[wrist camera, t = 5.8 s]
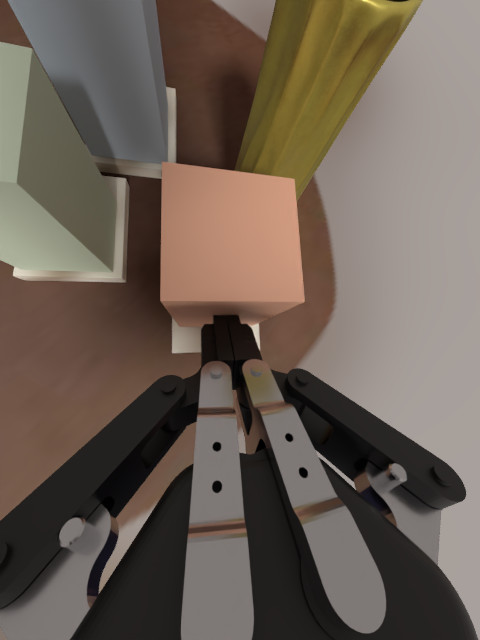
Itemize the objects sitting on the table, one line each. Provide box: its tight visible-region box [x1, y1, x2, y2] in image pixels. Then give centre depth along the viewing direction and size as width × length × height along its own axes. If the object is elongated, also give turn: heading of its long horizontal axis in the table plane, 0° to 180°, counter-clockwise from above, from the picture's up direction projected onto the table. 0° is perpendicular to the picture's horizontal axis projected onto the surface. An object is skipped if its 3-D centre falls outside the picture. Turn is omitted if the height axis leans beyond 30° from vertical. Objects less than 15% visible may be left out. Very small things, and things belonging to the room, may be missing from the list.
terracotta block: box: [160, 162, 305, 327], centre depth 13 cm, size 6×6×9 cm
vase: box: [235, 0, 423, 202], centre depth 14 cm, size 6×6×14 cm
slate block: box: [8, 0, 168, 164], centre depth 14 cm, size 6×6×9 cm
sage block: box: [0, 42, 116, 272], centre depth 12 cm, size 6×6×9 cm
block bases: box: [13, 87, 260, 353], centre depth 18 cm, size 18×25×1 cm
